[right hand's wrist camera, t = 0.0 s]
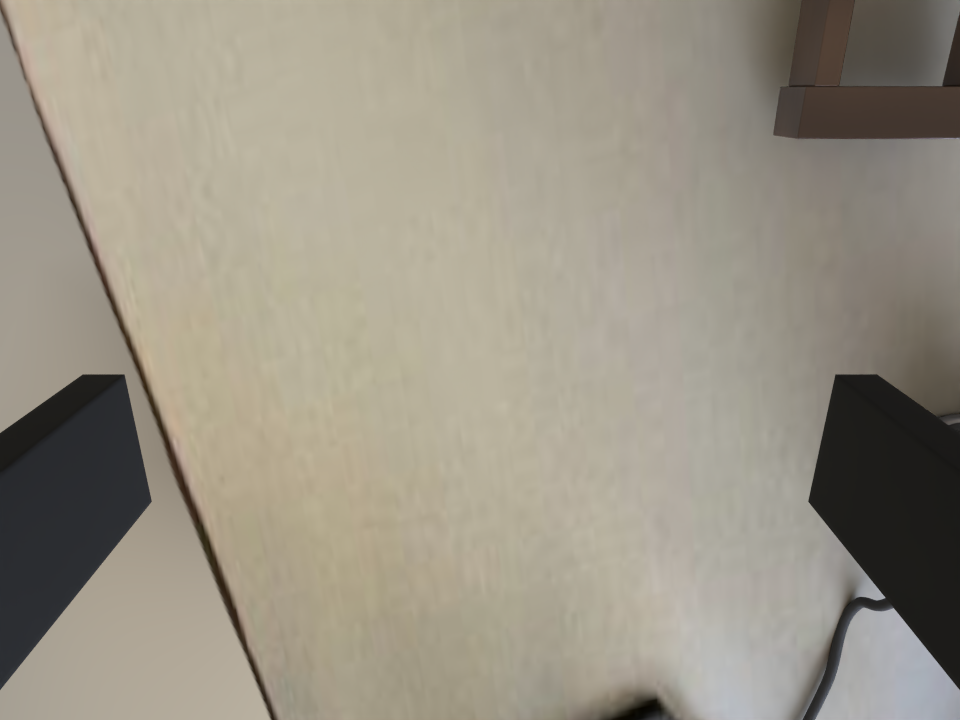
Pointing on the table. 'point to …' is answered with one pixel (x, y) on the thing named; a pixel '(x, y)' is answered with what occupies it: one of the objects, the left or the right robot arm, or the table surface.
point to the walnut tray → (858, 89)
